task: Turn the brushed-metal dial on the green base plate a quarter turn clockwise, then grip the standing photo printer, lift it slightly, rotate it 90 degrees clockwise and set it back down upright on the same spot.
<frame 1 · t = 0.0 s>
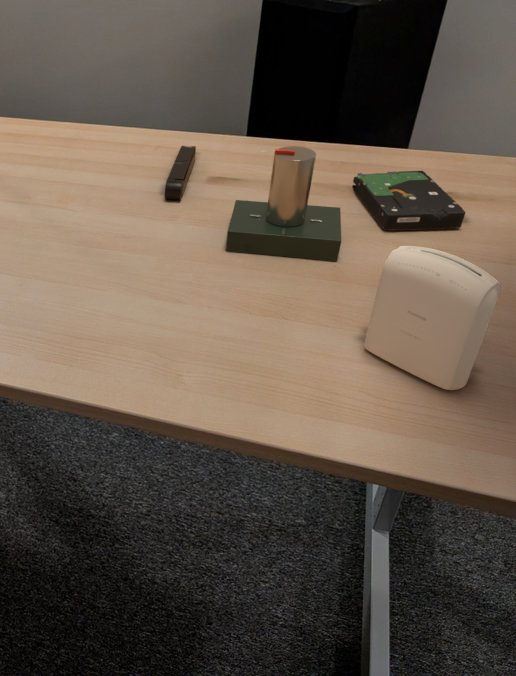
dial: (290, 185, 84), point 8 cm above the table, hinge at 0.0°
disk drive: (401, 209, 94), on the table
green base plate: (282, 239, 89), on the table
photo printer: (412, 365, 66), on the table
black bar: (180, 181, 108), on the table
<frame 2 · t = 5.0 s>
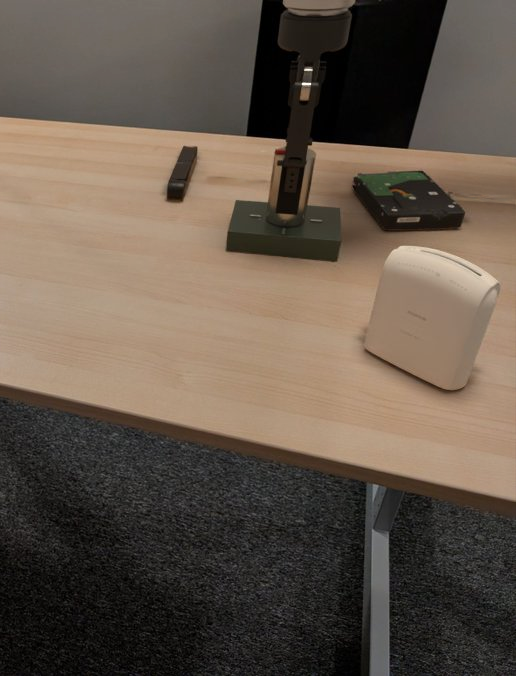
hand: (287, 203, 86), 5 cm above the table, tool pointing down, fingers closed on dial, 5 cm apart
dial: (290, 185, 84), point 8 cm above the table, hinge at -0.1°, touching gripper
everything else where it was.
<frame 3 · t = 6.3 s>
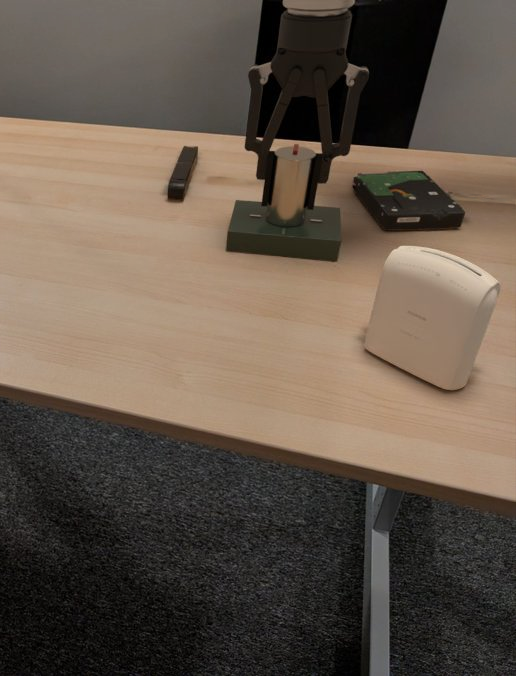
hand: (287, 203, 86), 5 cm above the table, tool pointing down, fingers closed on dial, 5 cm apart
dial: (290, 185, 84), point 8 cm above the table, hinge at -91.0°, touching gripper
everything else where it was.
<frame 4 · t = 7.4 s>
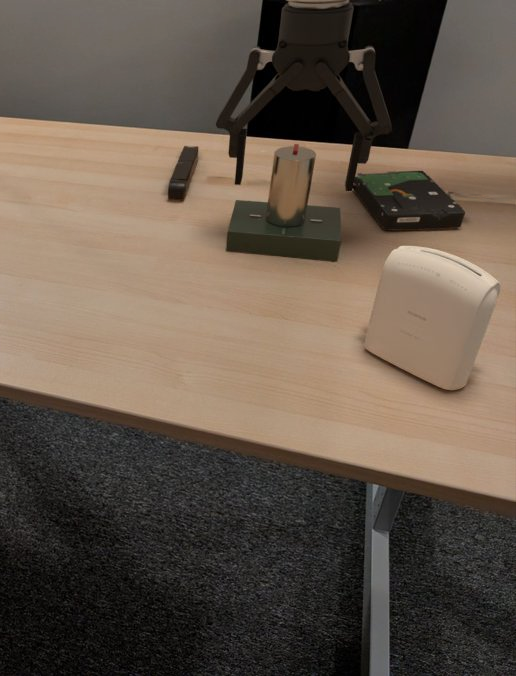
hand: (292, 184, 84), 8 cm above the table, tool pointing down, fingers open, 13 cm apart
dial: (290, 185, 84), point 8 cm above the table, hinge at -91.1°
everything else where it was.
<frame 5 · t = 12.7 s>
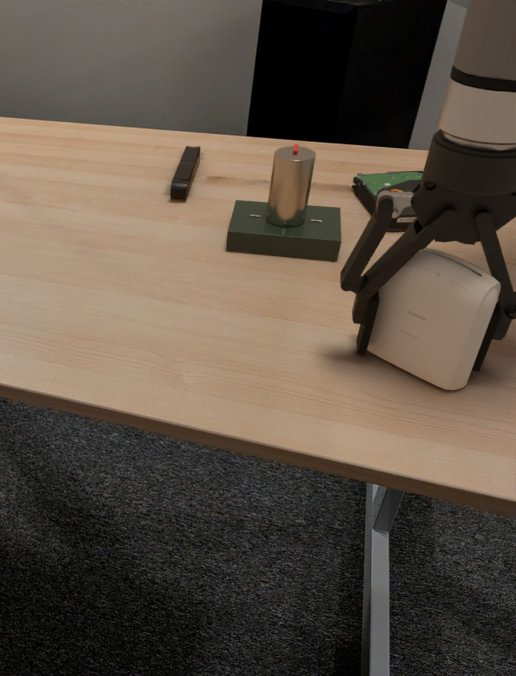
hand: (415, 355, 65), 1 cm above the table, tool pointing down, fingers closed on photo printer, 9 cm apart
photo printer: (412, 365, 66), on the table, touching gripper
everything else where it was.
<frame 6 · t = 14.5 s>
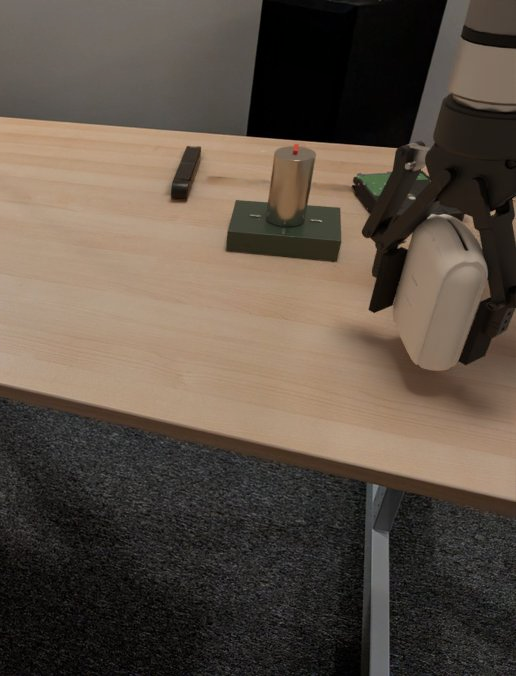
hand: (423, 331, 64), 4 cm above the table, tool pointing down, fingers closed on photo printer, 9 cm apart
photo printer: (420, 342, 64), point 3 cm above the table, touching gripper
everything else where it was.
when the fingers open (1 cm above the table, at t = 16.5 s): photo printer stays where it is, on the table.
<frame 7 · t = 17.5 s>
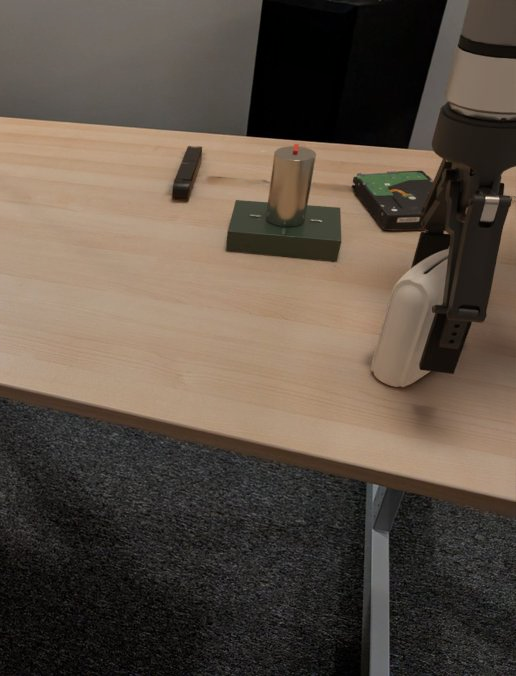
hand: (427, 326, 63), 4 cm above the table, tool pointing down, fingers open, 13 cm apart
photo printer: (411, 365, 66), on the table
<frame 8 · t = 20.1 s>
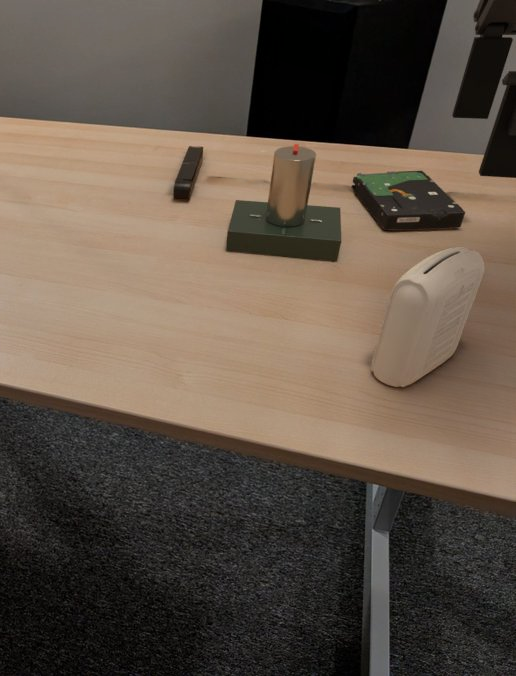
hand: (483, 143, 53), 23 cm above the table, tool pointing down, fingers open, 13 cm apart
at the end: dial at -91° (first picture: +0°); photo printer tilted 0°; photo printer moved 0.2 cm from its start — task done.
